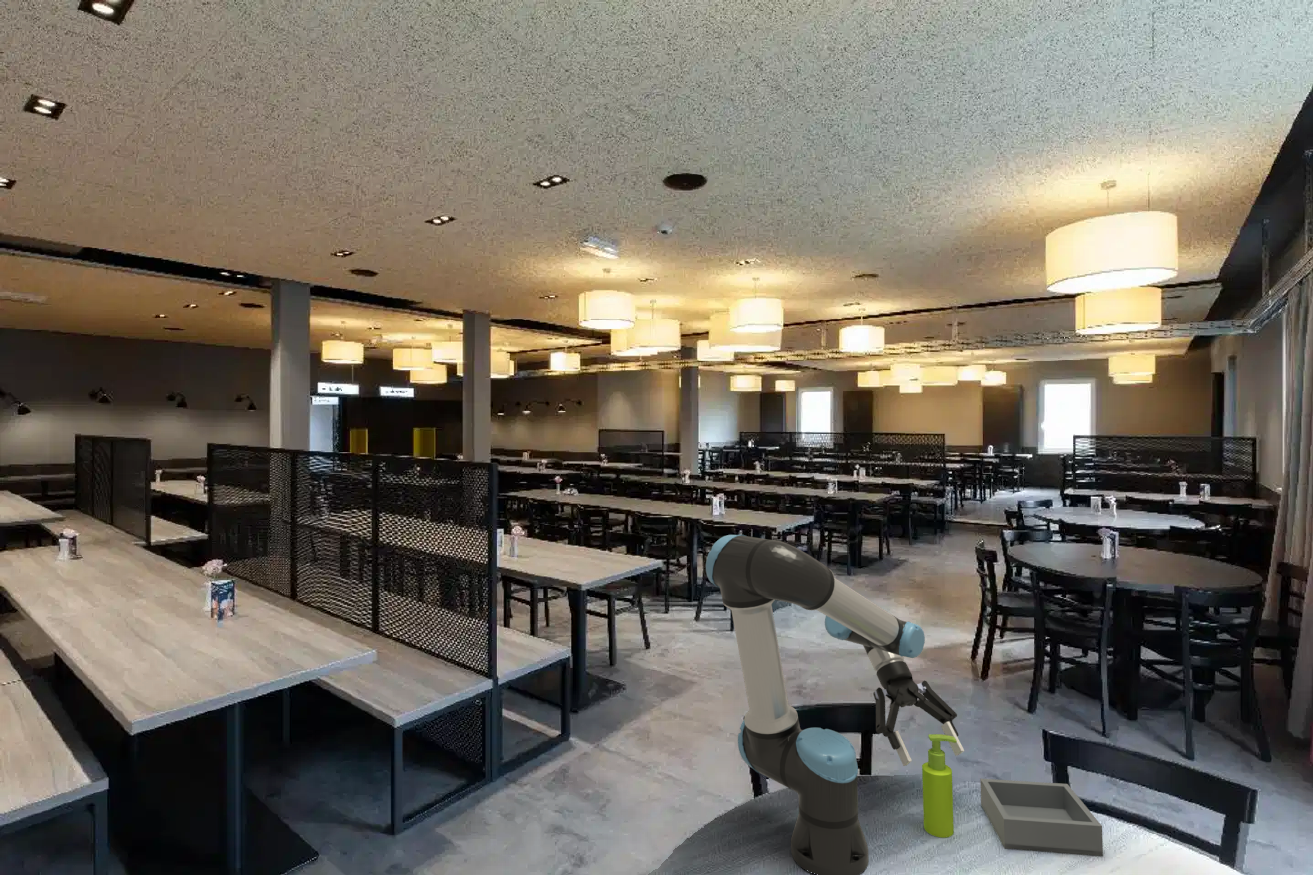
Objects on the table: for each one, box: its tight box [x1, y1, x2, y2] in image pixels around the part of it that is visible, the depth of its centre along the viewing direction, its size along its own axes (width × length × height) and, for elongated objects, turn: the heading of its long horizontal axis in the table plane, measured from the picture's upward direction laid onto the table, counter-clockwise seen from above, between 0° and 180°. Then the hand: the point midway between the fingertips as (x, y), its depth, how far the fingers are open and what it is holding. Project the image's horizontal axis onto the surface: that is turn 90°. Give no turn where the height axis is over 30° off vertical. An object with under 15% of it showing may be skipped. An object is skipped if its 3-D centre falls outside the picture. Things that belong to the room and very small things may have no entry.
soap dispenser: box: [921, 733, 957, 839], centre depth 141 cm, size 6×7×20 cm
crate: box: [979, 778, 1104, 857], centre depth 140 cm, size 18×16×6 cm
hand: (934, 758), depth 145 cm, fingers open, 13 cm apart
